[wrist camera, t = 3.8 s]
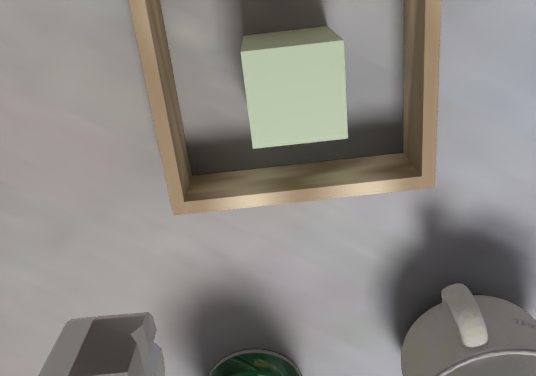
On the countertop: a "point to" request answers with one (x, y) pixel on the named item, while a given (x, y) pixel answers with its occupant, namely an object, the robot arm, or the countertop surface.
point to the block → (295, 86)
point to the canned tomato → (255, 364)
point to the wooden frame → (308, 174)
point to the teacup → (470, 338)
